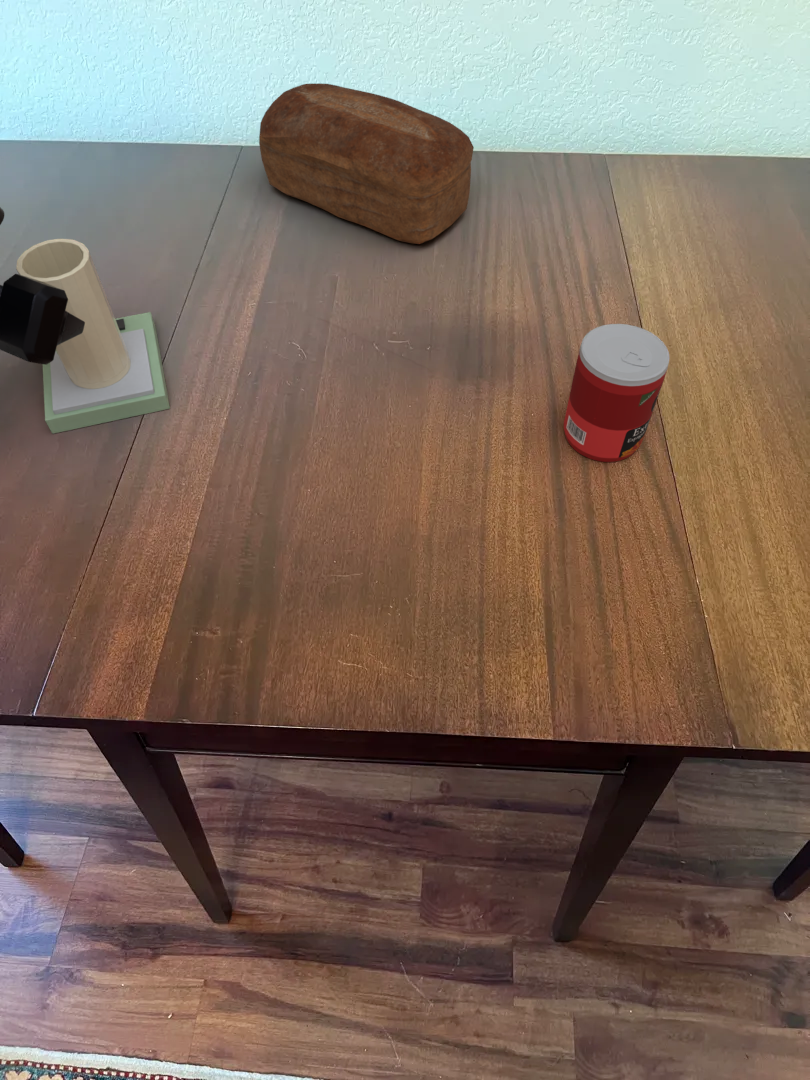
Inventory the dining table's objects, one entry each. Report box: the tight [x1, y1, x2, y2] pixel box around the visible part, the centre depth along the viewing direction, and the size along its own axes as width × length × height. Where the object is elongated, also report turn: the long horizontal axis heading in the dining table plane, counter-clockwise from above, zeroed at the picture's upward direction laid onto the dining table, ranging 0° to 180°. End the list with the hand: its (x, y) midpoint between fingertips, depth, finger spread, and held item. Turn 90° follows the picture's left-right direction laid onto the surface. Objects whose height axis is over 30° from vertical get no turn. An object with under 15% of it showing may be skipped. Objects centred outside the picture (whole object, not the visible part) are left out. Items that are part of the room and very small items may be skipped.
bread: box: [258, 82, 475, 245], centre depth 99 cm, size 14×28×12 cm, turn 55°
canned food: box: [563, 323, 670, 463], centre depth 74 cm, size 8×8×11 cm
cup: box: [15, 238, 131, 389], centre depth 76 cm, size 6×6×13 cm
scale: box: [42, 311, 171, 434], centre depth 83 cm, size 14×12×3 cm
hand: (45, 312), depth 73 cm, fingers open, 9 cm apart
